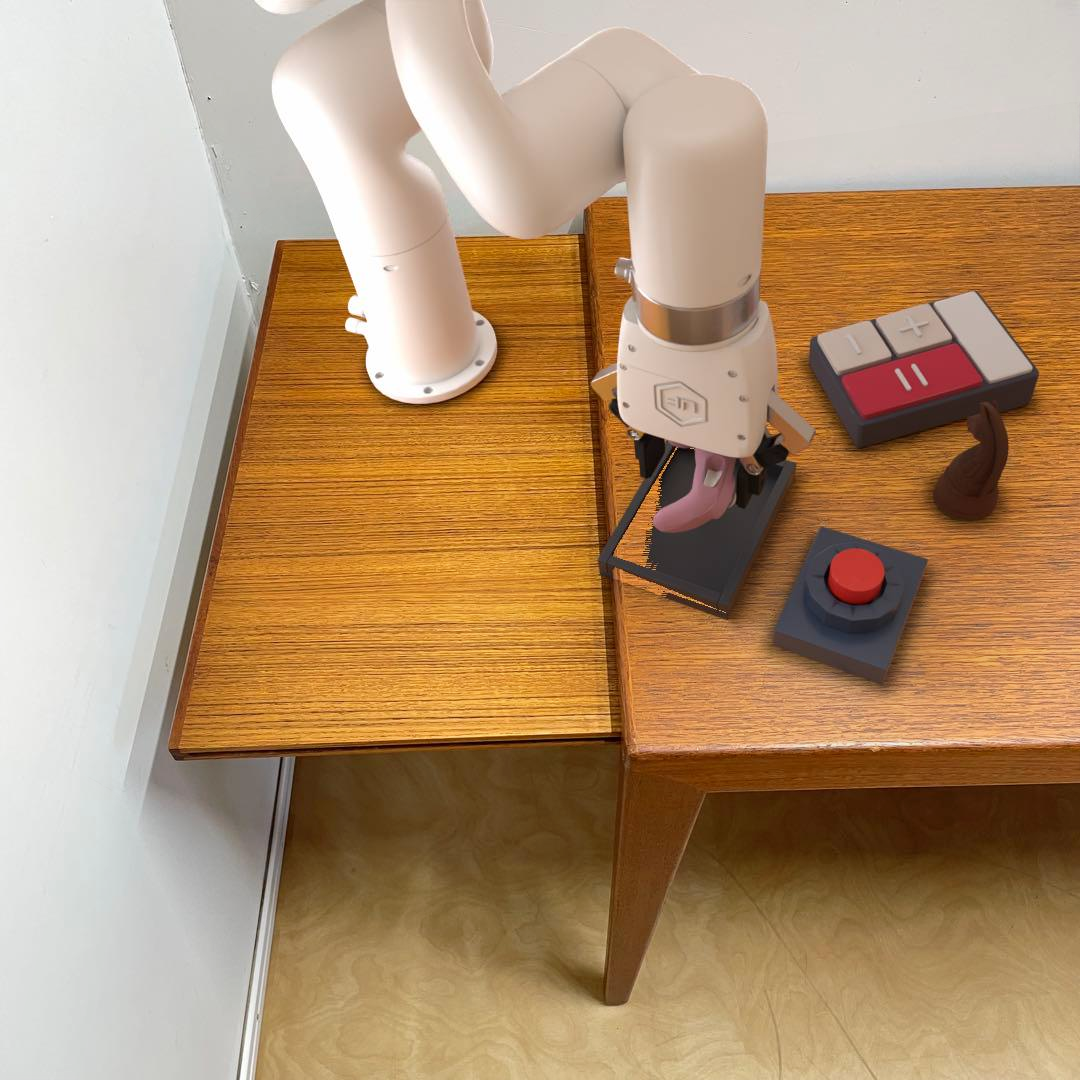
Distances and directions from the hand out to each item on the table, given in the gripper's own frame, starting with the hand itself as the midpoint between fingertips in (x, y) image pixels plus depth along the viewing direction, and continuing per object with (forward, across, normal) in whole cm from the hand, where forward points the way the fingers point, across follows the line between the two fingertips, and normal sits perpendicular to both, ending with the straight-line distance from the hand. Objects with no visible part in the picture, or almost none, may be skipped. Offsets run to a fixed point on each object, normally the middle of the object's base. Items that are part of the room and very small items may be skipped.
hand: (699, 478), depth 74 cm
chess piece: (+6, +18, +10) cm, 21 cm away
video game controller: (+1, 0, 0) cm, 1 cm away
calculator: (+6, +11, +21) cm, 24 cm away
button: (+3, +13, -3) cm, 14 cm away
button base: (+6, +13, -3) cm, 15 cm away
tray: (+6, 0, 0) cm, 6 cm away
